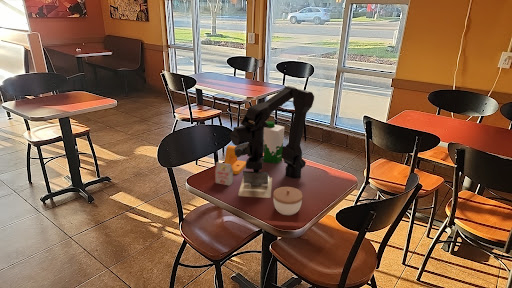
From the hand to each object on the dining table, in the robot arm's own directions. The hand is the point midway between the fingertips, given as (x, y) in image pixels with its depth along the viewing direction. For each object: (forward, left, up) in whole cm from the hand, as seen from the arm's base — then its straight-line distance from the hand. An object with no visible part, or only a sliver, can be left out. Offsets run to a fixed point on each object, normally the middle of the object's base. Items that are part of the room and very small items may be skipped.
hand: (255, 174), depth 132 cm
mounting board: (0, -3, -8) cm, 8 cm away
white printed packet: (+14, -5, -8) cm, 17 cm away
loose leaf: (0, 0, -3) cm, 3 cm away
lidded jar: (-13, +13, -8) cm, 20 cm away
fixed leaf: (0, -6, -7) cm, 9 cm away
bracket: (+11, -19, -8) cm, 23 cm away
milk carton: (-6, -31, -8) cm, 32 cm away
